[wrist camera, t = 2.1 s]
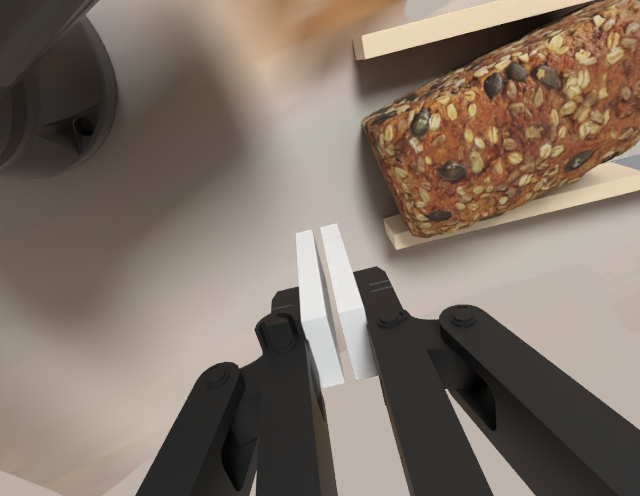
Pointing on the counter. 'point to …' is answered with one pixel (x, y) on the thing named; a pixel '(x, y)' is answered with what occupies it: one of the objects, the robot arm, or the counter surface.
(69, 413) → the counter surface
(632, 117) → the bread
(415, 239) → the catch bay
